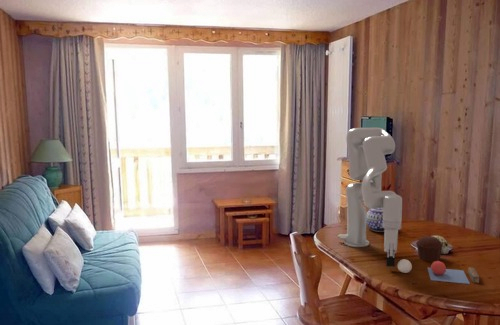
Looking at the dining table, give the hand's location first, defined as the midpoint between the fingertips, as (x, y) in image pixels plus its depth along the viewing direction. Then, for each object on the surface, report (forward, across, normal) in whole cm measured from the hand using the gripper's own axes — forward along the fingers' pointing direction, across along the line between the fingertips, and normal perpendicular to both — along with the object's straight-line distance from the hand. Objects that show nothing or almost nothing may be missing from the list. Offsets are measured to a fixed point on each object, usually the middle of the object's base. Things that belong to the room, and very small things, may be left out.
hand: (390, 265), depth 177 cm
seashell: (+3, -32, +22) cm, 39 cm away
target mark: (+2, 0, +22) cm, 22 cm away
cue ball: (-1, +2, +6) cm, 6 cm away
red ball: (-1, 0, +19) cm, 19 cm away
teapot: (+3, -63, -5) cm, 63 cm away
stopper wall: (+2, 0, +32) cm, 32 cm away
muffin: (+2, -20, +17) cm, 26 cm away
